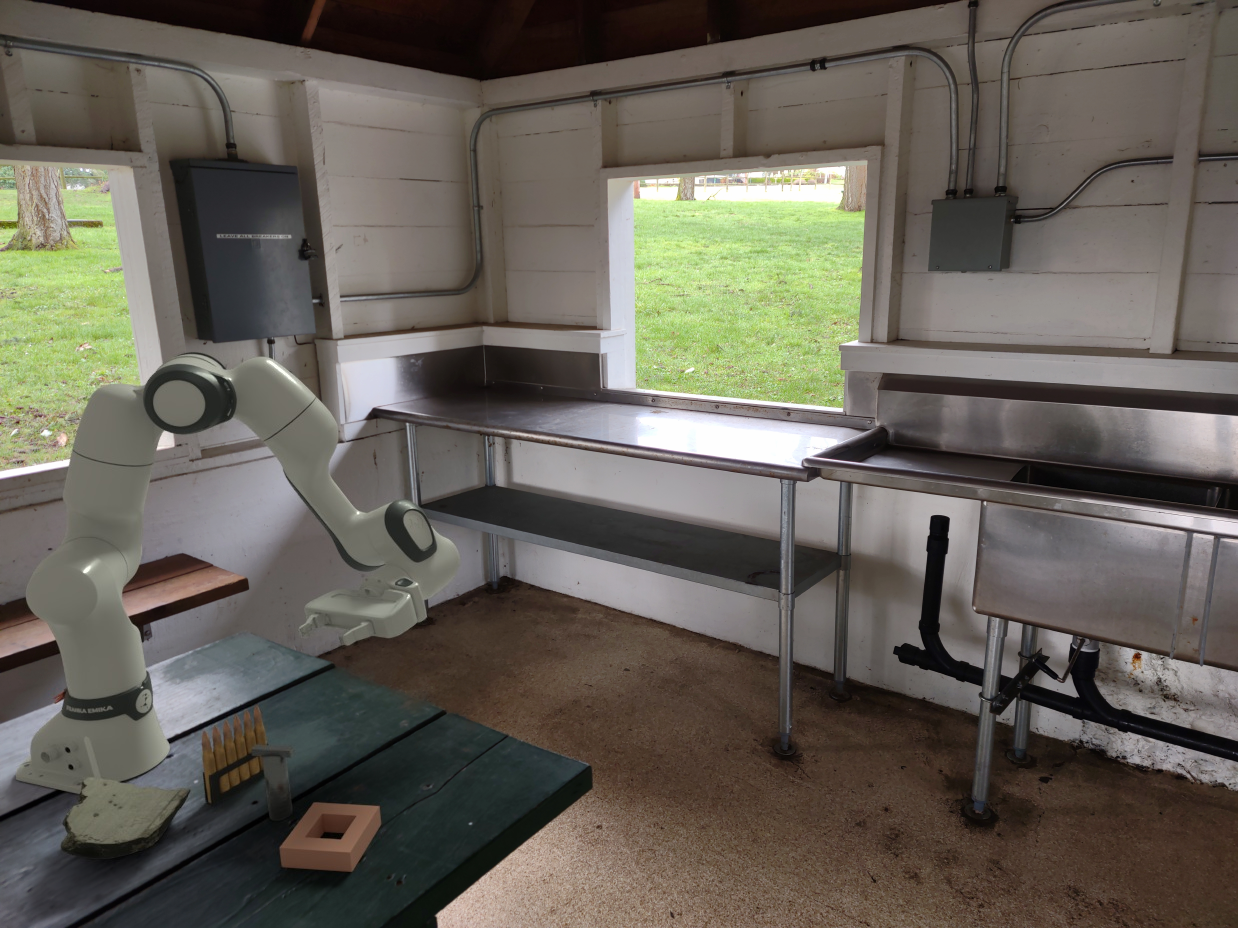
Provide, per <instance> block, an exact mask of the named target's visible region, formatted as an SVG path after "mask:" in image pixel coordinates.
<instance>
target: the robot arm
mask: <svg viewBox="0 0 1238 928" xmlns="http://www.w3.org/2000/svg"><path fill="white" fill-rule="evenodd" d="M232 418H233V419H236V420H239V421H240V422H242V423H243V424H244V425H246V426H247V427H248V428H249V430H251V432H253V433H254V434H255V435H256V436H257V437H258V438H259V439H260V440H261V441H262V442H263V444H264V445H265V446H266V447H267V448H268V449H269V450H270V451H271V453H272V454H273V456H275V457H276V459H277V461H278V462H279V464H280V466H281V467H282V471H283V474H284V477H285V478H286V480H287V482H288V483H289V484H290V486H291V487H292V489H293V490H294V491H295V493H296V494H297V495H298V497H299V498H300V499H301V500H302V502H303V503H304V504H305V505H306V507H307V508H308V509H309V510H310V512H311V513H312V515H314V516H315V518H316V520H318V522H319V523H320V524H321V525H322V526H323V528H324V529H325V531H327V533H328V535H329V536H330V538H331V539H332V541H333V543H334V545H335V548H336V550H337V552H338V554H339V556H340V557H341V559H342V560H343V562H345V563H346V564H347V565H348V567H350V568H351V569H354V570H355V571H359V572H365V573H366V572H369V573H370V572H372V571H374V572H372V573H371V574H369V575H367V576H366V577H365V578H363V579H362V580H361V582H360V584H359V590H357V589H350V588H349V589H348V588H337V589H334V590H331V591H329V592H327V593H325V594H322V595H321V596H319V597H317V598H315V599H312V600H311V601H309V602H308V603H306V604H305V606H304V607H303V611H304V615H305V618H306V621H305V623H304V624H302V625H300V626H299V627H298V629H297V632H298V636H299V637H300V638H302V639H303V638H304V639H309V638H310V637H313V636H315V634H316V633H315V631H316V629H320V628H325V629H330V630H336V631H341V633H339V635H338V639H339V643H340V645H345V646H350V645H352V644H354V643H355V642H357V641H358V642H359V641H360V640H361V641H362V640H363V639H367V638H371V637H372V636H373V637H378V638H383V639H384V638H385V639H391V638H395V637H398V636H400V635H402V634H403V633H405V632H406V631H408V630H410V628H413V626H415V625H416V624H417V623H421V622H422V621H424V620H426V619H427V618H428V616H427V615H428V614H427V610H426V604H425V600H426V601H427V600H428V599H429V600H430V598H432V597H433V596H435V595H436V594H437V593H439V592H440V591H441V590H443V589H444V588H445V587H446V586H447V585H448V584H449V583H450V582H452V580H453V579H454V578H455V577H456V575H457V574H458V572H459V569H460V564H461V557H460V552H459V550H458V548H457V546H456V545H455V543H453V541H452V540H451V539H449V538H448V537H445V536H443V535H441V534H440V533H438V531H437V530H435V528H434V527H433V526H432V525H431V522H430V520H429V518H428V516H427V514H426V513H425V511H424V510H423V509H422V508H421V507H420V506H419V505H418V503H417V504H416V503H415V502H414V501H412V500H408V499H396V500H394V501H391V502H389V503H387V504H384V505H382V506H381V507H378V508H376V509H374V510H371V511H369V512H364V511H361V510H358V509H356V508H355V506H354V505H353V504H352V503H351V502H350V500H349V499H348V498H347V496H346V495H345V494H344V493H343V491H342V490H341V488H340V487H339V486H338V485H337V483H336V482H335V481H334V479H333V478H332V476H331V473H330V469H329V467H330V462H331V459H332V458H333V455H334V453H335V452H336V449H337V446H338V443H339V424H338V423H337V420H336V419H335V417H334V416H333V414H332V412H331V411H330V410H329V408H327V406H326V405H325V404H324V403H323V402H322V401H321V400H320V399H319V398H318V397H317V396H316V394H314V392H312V390H311V389H310V388H309V387H307V386H306V385H305V384H304V383H303V382H302V380H300V379H299V378H298V377H297V376H296V375H294V374H293V373H292V372H291V371H289V370H288V369H287V368H285V367H284V365H282V364H280V363H279V362H277V360H275V359H273V358H271V357H268V356H256V357H253V358H249V359H247V360H244V361H242V362H240V363H239V364H238V365H237V366H235V367H234V368H231V369H227V368H226V367H225V365H224V364H223V363H222V362H221V361H220V360H218V359H217V358H215V357H214V356H212V355H210V354H206V353H203V352H196V351H194V352H193V351H190V352H184V353H181V354H178V355H176V356H174V357H172V358H170V359H168V360H166V361H165V362H163V363H162V364H161V365H160V366H159V367H158V368H157V369H156V370H155V372H154V373H152V375H150V377H149V378H148V379H147V381H146V382H145V384H144V385H143V384H142V385H133V384H129V383H111V384H106V385H103V386H101V387H98V388H97V389H96V390H94V391H93V393H92V394H91V395H90V398H89V400H88V402H87V404H86V406H85V408H84V410H83V413H82V416H81V417H80V420H79V423H78V426H77V429H76V432H75V437H74V442H73V444H72V445H73V446H72V449H71V452H70V453H71V454H70V458H69V463H68V469H67V473H66V478H65V483H64V487H63V491H62V500H63V503H64V504H65V507H66V531H65V535H64V538H63V540H62V542H61V544H60V546H59V547H57V548H56V549H55V550H54V551H53V552H52V553H50V554H49V555H48V556H46V557H45V558H44V559H43V560H42V561H40V563H38V565H37V566H36V568H35V570H34V571H33V573H32V575H31V576H30V579H29V580H28V583H27V586H26V589H25V599H26V604H27V606H28V608H29V609H30V611H31V612H32V613H33V614H34V616H36V617H37V618H39V619H40V620H41V621H43V622H45V623H46V624H47V626H48V628H49V630H50V631H51V633H52V635H53V637H54V638H55V641H56V643H57V646H58V650H59V653H60V655H61V656H60V657H61V660H62V665H63V671H64V675H65V681H66V682H65V683H66V686H67V687H66V688H64V689H63V691H62V692H60V693H59V694H57V695H55V696H54V697H53V698H52V699H53V700H55V701H54V702H53V703H54V704H55V705H56V704H58V703H60V702H62V701H63V703H62V706H61V709H60V710H59V711H58V713H56V714H55V715H54V716H53V717H52V718H50V720H48V721H47V722H46V723H45V724H43V725H42V726H41V728H39V729H38V730H37V731H36V732H35V733H34V735H33V737H32V739H31V741H30V747H29V751H30V755H29V756H28V757H27V758H26V759H25V760H24V761H23V762H22V763H21V764H20V765H19V766H18V768H17V770H16V771H15V780H17V781H19V782H24V783H28V784H32V785H37V786H41V787H45V788H51V789H55V790H60V791H64V792H68V793H73V794H77V795H80V792H81V787H82V782H83V780H84V779H86V778H90V777H95V778H101V779H106V780H115V781H118V782H120V783H121V782H122V781H127V780H130V779H133V778H135V777H137V776H140V775H142V774H144V773H146V772H148V771H149V770H152V769H153V768H154V767H156V766H158V765H159V764H160V763H161V762H162V761H163V760H164V759H165V758H166V757H167V756H168V754H169V752H170V750H171V745H170V743H169V741H168V739H167V737H166V735H165V733H164V732H163V729H162V726H161V724H160V721H159V719H158V715H157V712H156V710H155V709H156V708H155V706H154V690H153V685H152V678H151V675H150V672H149V671H148V670H147V668H146V661H145V656H144V648H143V642H142V638H141V637H142V636H141V632H140V630H139V628H138V627H137V626H136V625H135V624H133V622H132V621H131V619H130V617H129V616H128V613H127V610H126V608H125V605H124V602H123V601H124V600H123V590H124V587H125V586H126V585H127V584H128V583H129V582H130V581H131V580H132V579H133V577H134V576H135V574H137V571H138V569H139V567H140V564H141V561H142V560H141V559H142V556H143V545H142V543H143V536H144V535H143V532H144V512H145V505H146V500H147V495H148V490H149V486H150V483H151V476H152V474H153V468H154V464H155V460H156V455H157V450H158V447H159V442H160V440H161V437H162V435H163V433H164V432H168V433H171V434H174V435H179V436H180V435H182V436H183V435H193V434H198V433H201V432H205V431H207V430H209V429H211V428H213V427H216V426H218V425H221V424H223V423H226V422H229V421H231V420H232Z"/></svg>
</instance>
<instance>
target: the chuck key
mask: <svg viewBox="0 0 1238 928" xmlns="http://www.w3.org/2000/svg"><path fill="white" fill-rule="evenodd" d="M251 751H252V756H262V762H263V770H264V777H263V778H264V783H265V791H266V800H267V807H268V815H269V819H270V820H271V821H275V822H276V821H283V820H286V819H288V818H289V817H291V815H292V814H293V811H294V810H293V802H292V795H291V788H290V780H289V772H288V765H287V764H288V763H287V759H288V758H289V759H291V758H292V757H293V756H294V755H295V754H296V750H295V746H294V745H292V746H290V745H271V744H270V745H255V746H254V747H253V748H252V749H251Z"/></svg>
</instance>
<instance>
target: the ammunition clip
mask: <svg viewBox="0 0 1238 928" xmlns="http://www.w3.org/2000/svg"><path fill="white" fill-rule="evenodd" d="M253 725H254V726H253ZM232 727H233V734H232V729H231V725H230V723H229V722H228V720H227V719H225V720H224V722H223V726H222V735H223V741H222V736H221V731H220V729H219V728H218V726H217V725H213V729H212V744H211V739H210V736H209V734H208V732H207V731H206V730H203V732H202V735H201V747H202V756H201V757H202V766H203V772H202V779H203V788H204V789H203V790H204V798H205V799H204V800H205V803H207V804H208V805H210V806H213V807H214V806H216V805H218V804H220V803H221V802H223V801H225V800H226V799H228V798H230V797H232V796H234V795H236V794H237V793H238V792H240V791H242V790H244V789H245V788H247V787H248V786H251V785H252V784H255V783H256V782H257V781H260V780H261V779H263V778H264V770H263V762H262V756H252V751H251V749H252V748H253V747H254V746H255V745H269V743H267V735H266V729H265V726H264V722H263V717H262V711H261V710H260V707H259V705H257V704H255V705H254V708H253V721H252V718H251V715H250V712H249V711H248V710H247V709H245V710H244V713H243V727H242V724H241V719H240V718H239V716H238V715H237V714H236V715H234V718H233V723H232ZM242 728H243V729H242ZM243 730H244V731H243ZM212 745H213V747H212Z"/></svg>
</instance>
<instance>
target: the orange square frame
mask: <svg viewBox="0 0 1238 928" xmlns="http://www.w3.org/2000/svg"><path fill="white" fill-rule="evenodd" d="M380 808H381V807H380V805H367V804H366V805H365V804H364V805H363V804H351V803H349V804H347V803H331V802H318V801H317V802H313V803H312V804H311V806H310V807H309V808H308V810H307V811H306V812H305V814H304V815H303V816H302V817H301V818H300V820H299V821H298V823H297V824H296V825H295V826H294V828H293V830H292V831H291V832H290V834H289V835H288V836H287V837H286V838H285V840H284V841H283V842H282V844H281V845H280V846H279V848H278V849H279V855H280V863H281V867H282V868H291V869H302V870H303V869H305V870H306V869H307V870H319V871H321V870H322V871H336V872H348V873H349V872H350V873H352V872H353V871H354V870H355V868H356V866H357V865H358V863H359V861H360V860H361V859H362V856H363V855H364V853H365V852H366V850H367V848H368V847H369V845H370V843H371V842H372V840H373V838H375V835H377V832H378V830H379V828H380V827H381V825H382V819H381V816H382V815H381V809H380ZM324 833H337V834H343V836H342V837H341V839H337V838H321V837H322V836H323V834H324Z"/></svg>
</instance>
